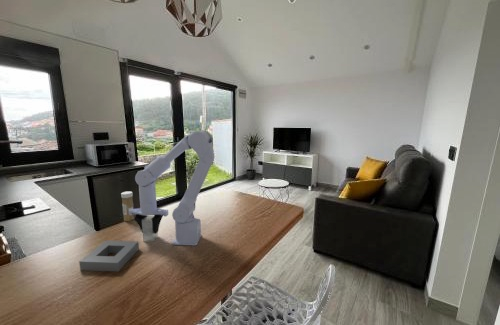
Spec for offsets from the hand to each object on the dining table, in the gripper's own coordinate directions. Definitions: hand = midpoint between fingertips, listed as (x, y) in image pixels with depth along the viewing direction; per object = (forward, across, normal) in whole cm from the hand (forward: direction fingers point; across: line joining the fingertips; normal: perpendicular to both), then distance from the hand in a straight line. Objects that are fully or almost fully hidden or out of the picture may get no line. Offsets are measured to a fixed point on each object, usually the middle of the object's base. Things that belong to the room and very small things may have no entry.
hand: (150, 232), depth 84 cm
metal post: (+3, 0, 0) cm, 3 cm away
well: (+3, +7, +13) cm, 15 cm away
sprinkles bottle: (+3, +18, -16) cm, 24 cm away
